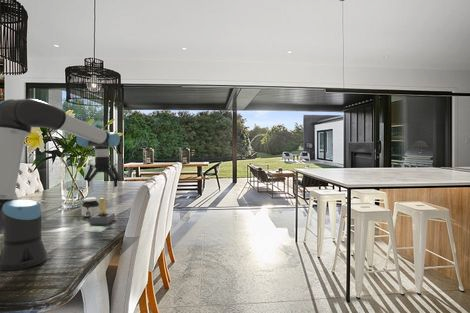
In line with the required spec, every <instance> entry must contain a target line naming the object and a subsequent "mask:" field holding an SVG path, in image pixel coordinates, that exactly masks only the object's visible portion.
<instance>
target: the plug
mask: <svg viewBox="0 0 470 313" xmlns="http://www.w3.org/2000/svg"><path fill="white" fill-rule="evenodd" d="M98 202H99V216H106V213H107V197H100V198H98Z"/></svg>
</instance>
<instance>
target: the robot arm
mask: <svg viewBox="0 0 470 313" xmlns="http://www.w3.org/2000/svg"><path fill="white" fill-rule="evenodd" d="M32 128H42V129H43V128H45V129H48V130H52V131H58V130H59V131H63V132H64V133H68V134H71V135H73V136H76V139H75V141H76V143H77V145H79V147H84V148H85V147H94V156H95V157H94V163H95V164H89V168H88V170H87V172H86V174H85V176H84V178H83V179H84V181H87V187H89V189H88V192H89V194H90V193H91V194H92V193H93V192H94V181H93V179H94V178H95V177H96V176H97V174H99V173H106V174H107V176H109V177H110V179H112V193H113V194H114V193H116V191H117V187H118V181H121V177H120V175H119V173H118V171H117V169H116V165H115V164H110V157H109V156H110V148H113V147H118V145H119V144H120V141H121V138H120V135H119V134H118V133H117V132H114V131H112V132H111V131H110V132H109V131H108V129H102V128H99V127H97V126H94V125H92V124H90V123H88V122H86V121H83V120H81V119H78V118H76V117H74V116H73V115H70V114H67V113H66V111H65V110H64V109H61V108H59V107H57V106H55V105H53V104H51V103H47V102H45V101H42V100H39V99H36V98H35V99H34V98H23V99H22V98H21V99H6V100H1V101H0V234H2V236H3V237H2V238H3V246H2V249H1V251H0V270H1V271H4V272H5V271H6V272H7V271H8V272H9V271H18V270H25V269H29V268H33V267H35V266H39V265H40V264H42V263H44V262H45V261H47V259H48V251H47V250H46V247H45V245H44V242H43V239H42V213H43V212H42V206H41V204H40V202H38V201H36V200H32V199H19V197H17V195H16V189H17V183H18V177H19V172H20V166H21V161H22V158H23V156H22V155H23V151H24V145H25V140H26V138H27V137H28V136H30V135H31V133H32ZM93 170H94V171H93ZM111 171H112V172H111ZM92 172H93V173H92Z"/></svg>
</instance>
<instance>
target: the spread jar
mask: <svg viewBox="0 0 470 313" xmlns="http://www.w3.org/2000/svg"><path fill="white" fill-rule="evenodd" d="M97 213H99V200H98V199H97V197H93V196H91V197H86V198H84V202H82V204H81V215H82V217H84V218H85V219H87V218H88V219H90V217H91V216H93V215H95V214H97Z"/></svg>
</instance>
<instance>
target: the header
mask: <svg viewBox="0 0 470 313" xmlns="http://www.w3.org/2000/svg"><path fill="white" fill-rule="evenodd" d="M115 215H116V214H115V213H113V212H106V216H99V213H97V214H95V215H93V216H91V217H90V218H89V224H90V225H109V224H110V223H111V222H113V220H114V221H115V219H116V216H115Z"/></svg>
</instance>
